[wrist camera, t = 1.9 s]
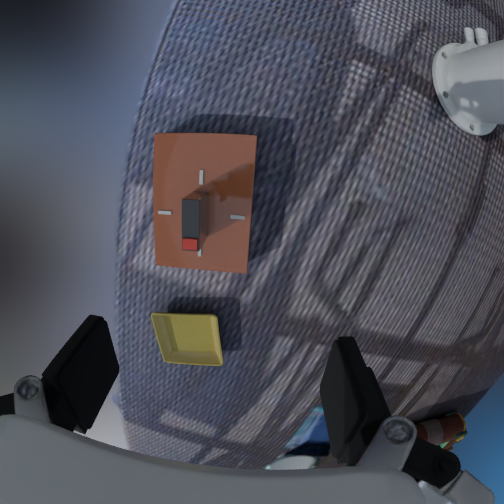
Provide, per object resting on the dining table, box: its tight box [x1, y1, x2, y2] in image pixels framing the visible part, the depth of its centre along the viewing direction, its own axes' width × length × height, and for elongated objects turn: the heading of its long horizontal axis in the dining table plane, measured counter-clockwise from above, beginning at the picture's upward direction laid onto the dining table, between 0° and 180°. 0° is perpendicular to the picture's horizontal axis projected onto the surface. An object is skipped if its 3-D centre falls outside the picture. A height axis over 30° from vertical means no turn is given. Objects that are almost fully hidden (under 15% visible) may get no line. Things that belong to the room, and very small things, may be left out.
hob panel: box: [153, 133, 258, 273], centre depth 28 cm, size 14×10×3 cm
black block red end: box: [182, 191, 209, 252], centre depth 25 cm, size 5×2×4 cm, turn 176°
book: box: [415, 411, 467, 451], centre depth 43 cm, size 27×21×10 cm
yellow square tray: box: [151, 312, 223, 366], centre depth 35 cm, size 9×9×2 cm
